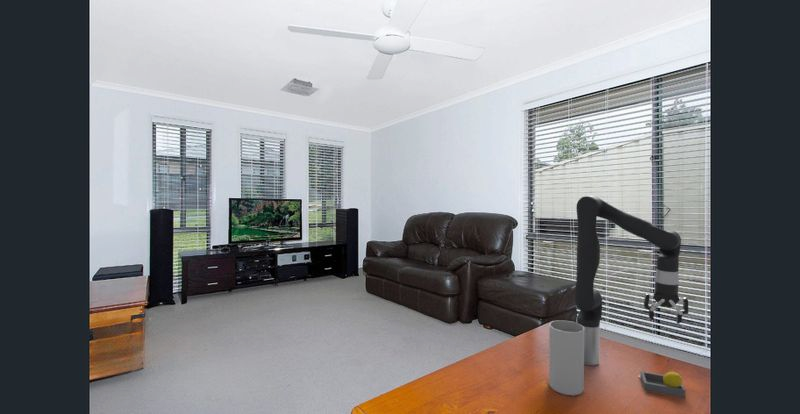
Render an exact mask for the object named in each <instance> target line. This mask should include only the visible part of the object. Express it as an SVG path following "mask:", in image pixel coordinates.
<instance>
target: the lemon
mask: <svg viewBox="0 0 800 414" xmlns="http://www.w3.org/2000/svg"><path fill="white" fill-rule="evenodd" d="M663 375H664V377H663V382H664V384H665V385H666V386H671V387H676V388H678V387H680V386H681V384H683V378H682V376H681V375H680V374H679V373H677V372H675V371H668V372H666V373H665V374H663Z"/></svg>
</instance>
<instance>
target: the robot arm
mask: <svg viewBox="0 0 800 414" xmlns="http://www.w3.org/2000/svg"><path fill="white" fill-rule="evenodd" d="M575 207H576V216H577V219H576V220H577V236H576V237H577V242H576V243H577V244H576V283H575V289H574V296H573V297H574V298H573V299H574V300H573V301H574V303H575V306H576V308H577V309H578V310H579V313H578V315H577V317H576V323H578V324H580V325H582V326H583V327H584V366H585V365H586V366H598V365H599V364H600V328H601V327H600V325H601V324H600V323H601V319H602V315H603V297H602V294H601V293H600V291H599V290H597V289H596V288H594V285H595V284H594V283H595V278H596V275H597V273H598V269H599V266H600V262H601V245H600V244H601V243H600V240H599V236H598V233H597V218H601V219H604V220H607V221H609V222H610V223H613V224H615V225H616V226H618V227H619V228H621V229H622V230H624V231H626V232H627V233H629V234H632V235H634V236H636V237H639V238H641V239H644V240H646V241H647V242H649V243H650V244H652V245H654V246H656V248H659V249H658V250H659V253H658V256H657V258H656V268H655V269H656V270H655V274H654V275H655V277H654V281H655V282H654V283H655V284H654V294H651V293H648V292H645V293H644V300H643V301H644V302H643V307H644V309H646V310H648V317H649V319H650V320H651V321H654V320H655V319H654V318H655V317H654V315H655V312H654V310H656V309H657V308H658V307H662V308H663V307H664V308H665V307H666V308H674V310H675V311H676V312H677V313H676V319H675V321H676V324H678V325H680V323H682V321H683V315H688V314H689V299H688V298H687V297H686V296H683V297H680V296H679V285H680V284H679V282H680V275H679V268H680V266H679V263H680V262H679V261H680V259H679V257H680V254H681V253H680V251H681V245H682V238H681V236H680V234H679V233H678V232H676V231H674V230H665V229H662V228H660V227H658V226H656V225H655V224H654V223H652V222H650V221H647V220H646V219H643V218H640V217H638V216H636V215H633V214H631V213H628V212H626V211H623V210H621V209H619V208H617V207H615V206H613V205H611V204H610V203H608V202H606V201H605V200H604V199H601V198H599V196H596V195H584V196H582V197H581V198H579V199H578V201H577V203H576V206H575ZM652 298H653V300H654V301H653V302H652V304H651V305H649V303H650V300H652ZM679 301H680V302H681V303H682V309H680V308H679V306H678V305H677V303H679Z"/></svg>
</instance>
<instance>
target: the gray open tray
mask: <svg viewBox="0 0 800 414" xmlns="http://www.w3.org/2000/svg"><path fill="white" fill-rule="evenodd" d="M664 375H665V374H661V373H660V374H659V373H653V372H647V371H640V375H639V376H640V377H639V378H640V381H641V385H642V388H643V391H645V392H651V393H657V394H662V395H667V396H671V397H677V398H682V399H686V388H685V387H684V385H683V383H682V384H681V386H680V387H678V388H676V387H671V386H666V385H665V384H664V382H663V377H664Z"/></svg>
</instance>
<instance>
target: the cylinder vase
mask: <svg viewBox="0 0 800 414" xmlns="http://www.w3.org/2000/svg"><path fill="white" fill-rule="evenodd" d="M548 331H549V335H548V336H549V339H548V340H549V344H548V346H549V349H548V352H549V353H548V359H549V360H548V361H549V363H548V384H549V386H550V388H551V389H552V390H553V391H554V392H557V393H559V394H562V395H565V396H570V395H571V396H572V397H573V396H579V395H581V394H582V393H583V392H584V389H585V387H584V386H585V385H584V383H585V382H584V380H585V379H584V375H585V372H584V371H585V369H584V367H585V364H584V327H583V326H582V325H580V324H578V323H577V322H575V321H570V320H552V321H550V322H549V330H548Z"/></svg>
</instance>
